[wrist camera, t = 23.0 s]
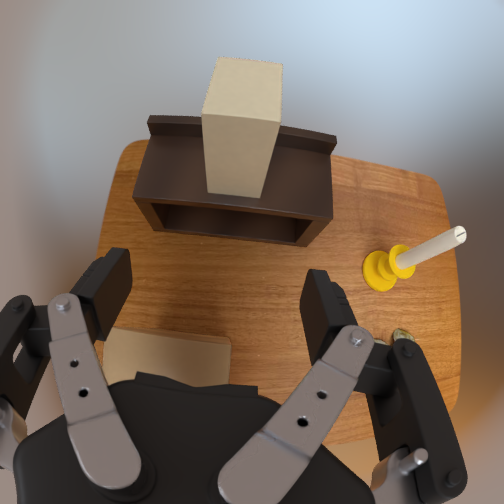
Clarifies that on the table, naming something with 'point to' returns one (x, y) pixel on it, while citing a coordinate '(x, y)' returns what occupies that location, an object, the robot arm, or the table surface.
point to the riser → (166, 356)
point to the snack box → (241, 124)
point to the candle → (406, 259)
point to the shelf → (230, 206)
